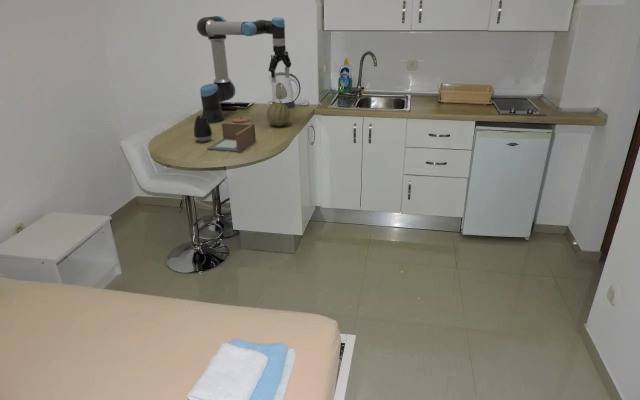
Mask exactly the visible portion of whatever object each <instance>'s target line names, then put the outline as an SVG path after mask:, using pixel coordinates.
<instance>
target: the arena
mask: <svg viewBox="0 0 640 400" xmlns="http://www.w3.org/2000/svg"><path fill="white" fill-rule="evenodd" d="M221 130H222V131H221V132H222V136H223V137H222V139H220V140H218V141H216V142H215V143H213V144H212V145H211V146H209V147H207V148H206V149H207V151H213V150H218V151H217V152H227V151H230V152H229V153H242V152H243V151H245V150H246V149H247V148H248V147H250V146H251V145H253V144H254V143H256V141H257V139H256V130H255V124H252V123H250V124H238V123H233V122H222V123H221Z"/></svg>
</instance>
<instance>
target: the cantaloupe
mask: <svg viewBox="0 0 640 400" xmlns="http://www.w3.org/2000/svg"><path fill="white" fill-rule="evenodd" d="M290 118H291V112H290V109H289V107H288V106H287V105H286V104H284V103H282V102H281V101H279V102H274V103H271V104H270V105H269V107H268V108H267V110H266V119H267V120H268V122H269V123H270V124H271V125H273V126H275V127H282V126H285V125H286V124H287V123H288V122H289V120H290Z"/></svg>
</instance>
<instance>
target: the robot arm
mask: <svg viewBox="0 0 640 400" xmlns="http://www.w3.org/2000/svg"><path fill="white" fill-rule="evenodd" d="M285 27H286V25H285V19H284V18H283V17H280V16H279V17H272V18H271V20H265V19H257V20H256V21H227V20H226V19H225V17H223V16H222V15H221V16H219V15H213V16H207V17H202V18H199V20H198V21H197V24H196V29H197V32H198V33H199V34H200V35H201V36H202V37H206V38H208V40H209V41H210V43H211V52H212V59H213V69H214V77H215V79H214V80H213V83H208V84H203V86H201V87H200V88H199V90H200V91H199V93H200V98H201V106H202V114H201V115H203V116H204V117H205V118H208V119H207V121H208V123H209V124H215V123H221V122H224V121H225V119H226V118H225V114H224V113H223V110H222V108H221V103H222V102H225V101H229V100H231V99H233V98H234V97H235V95H236V86H235V85H234V83H233V82H232V80H231V79H230V77H229V72H228V71H229V70H228V62H227V55H226V54H227V53H226V45H225V41H226V39H227V36H246V37H252V36H258V35H265V34H266V35H272V45H273V46H272V47H273V50H272V51H273V53H274V54H271V55H270V61H269V62H270V63H269V67H268V72H270V75H271V76H270V77H271V83H274V84H276V83H277V75H276V74H277V73H276V69H277V66H278V65H279V63H280V62H282V63H283V64H284V77H285V78H290V68H291V66H292V62H291V59H290V57H289V51H288V50H287V51H286V49H287V48H286V32H285V31H286V30H285Z"/></svg>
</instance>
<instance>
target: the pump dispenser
mask: <svg viewBox="0 0 640 400" xmlns="http://www.w3.org/2000/svg"><path fill="white" fill-rule="evenodd" d="M207 119H208V118H205V117H204V116H203V115H202V114H200V115H197V116H196V118H195V120H194V125H193V136H194V138H195V139H196V140H197V141H198V142H199V143H200V142H201V143H206V142H208V141H210V140H211V139H212V136H213V131H212V128H211V125H210V123H208V121H207Z"/></svg>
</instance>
